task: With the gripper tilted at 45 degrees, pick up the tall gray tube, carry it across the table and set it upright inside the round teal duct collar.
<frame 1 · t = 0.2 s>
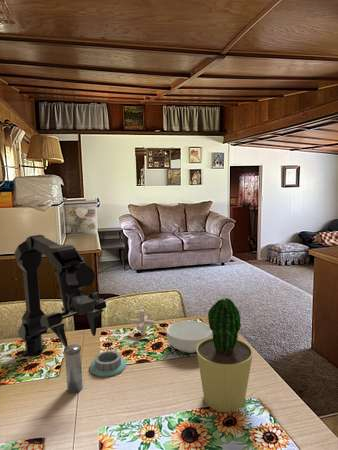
hand: (80, 341, 97), 15 cm above the table, tool tilted 15°, fingers open, 9 cm apart
gray tube: (75, 388, 100), on the table
potted cactus: (224, 399, 94), on the table
cereal bowl: (189, 347, 123), on the table
pipe connector: (142, 334, 135), on the table
duct collar: (108, 366, 112), on the table
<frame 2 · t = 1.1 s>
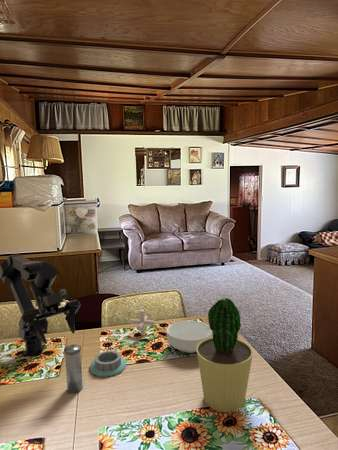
hand: (60, 337, 104), 13 cm above the table, tool tilted 45°, fingers open, 9 cm apart
nothing on the table moved.
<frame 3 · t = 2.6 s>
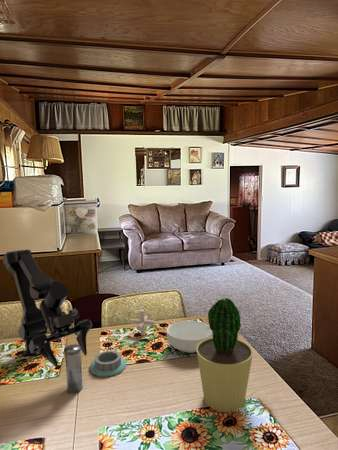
hand: (71, 360, 99), 9 cm above the table, tool tilted 45°, fingers open, 9 cm apart
nothing on the table moved.
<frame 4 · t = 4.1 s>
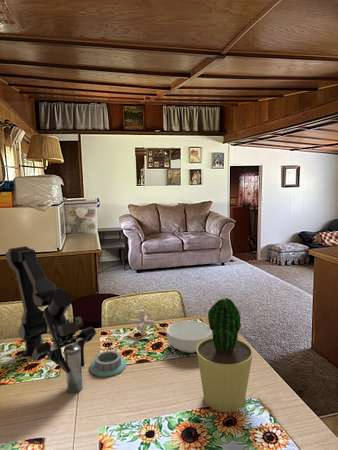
hand: (75, 369, 98), 7 cm above the table, tool tilted 45°, fingers closed on gray tube, 4 cm apart
gray tube: (75, 388, 100), on the table, touching gripper
everything else where it was.
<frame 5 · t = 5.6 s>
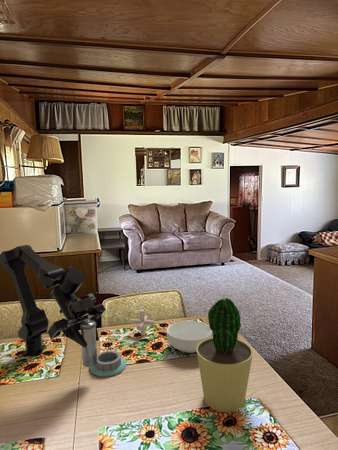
hand: (91, 343, 102), 12 cm above the table, tool tilted 45°, fingers closed on gray tube, 4 cm apart
gray tube: (90, 363, 104), point 6 cm above the table, touching gripper
everything else where it was.
when the fingers open (9 cm above the table, at t = 7.4 s): gray tube drops 1 cm, resting on duct collar.
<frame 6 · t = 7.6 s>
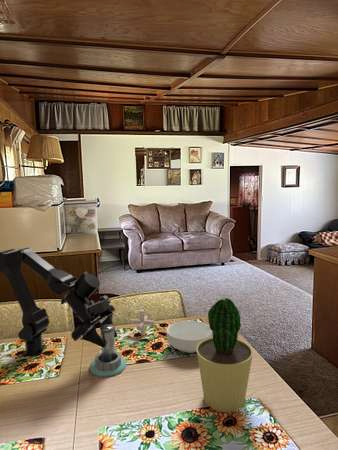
hand: (110, 341, 110), 9 cm above the table, tool tilted 45°, fingers open, 7 cm apart
gray tube: (108, 363, 112), point 1 cm above the table, touching duct collar
everything else where it was.
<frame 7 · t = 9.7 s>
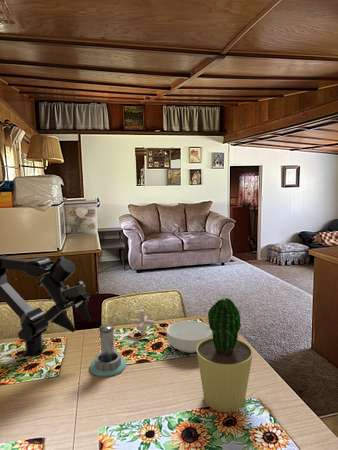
hand: (82, 326, 112), 13 cm above the table, tool tilted 40°, fingers open, 9 cm apart
nothing on the table moved.
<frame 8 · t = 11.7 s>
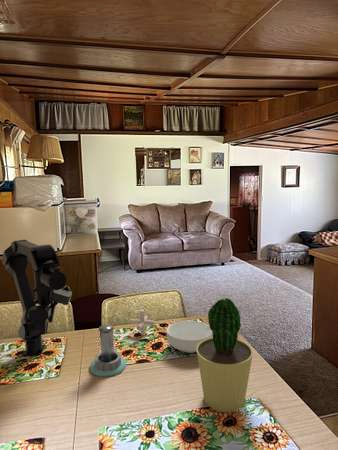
hand: (47, 328, 112), 13 cm above the table, tool pointing down, fingers open, 9 cm apart
nothing on the table moved.
at the end: gray tube 0.0 cm off-centre on the duct collar, point 0.8 cm above the duct collar's base; gray tube tilted 0°; the gripper is holding nothing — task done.
